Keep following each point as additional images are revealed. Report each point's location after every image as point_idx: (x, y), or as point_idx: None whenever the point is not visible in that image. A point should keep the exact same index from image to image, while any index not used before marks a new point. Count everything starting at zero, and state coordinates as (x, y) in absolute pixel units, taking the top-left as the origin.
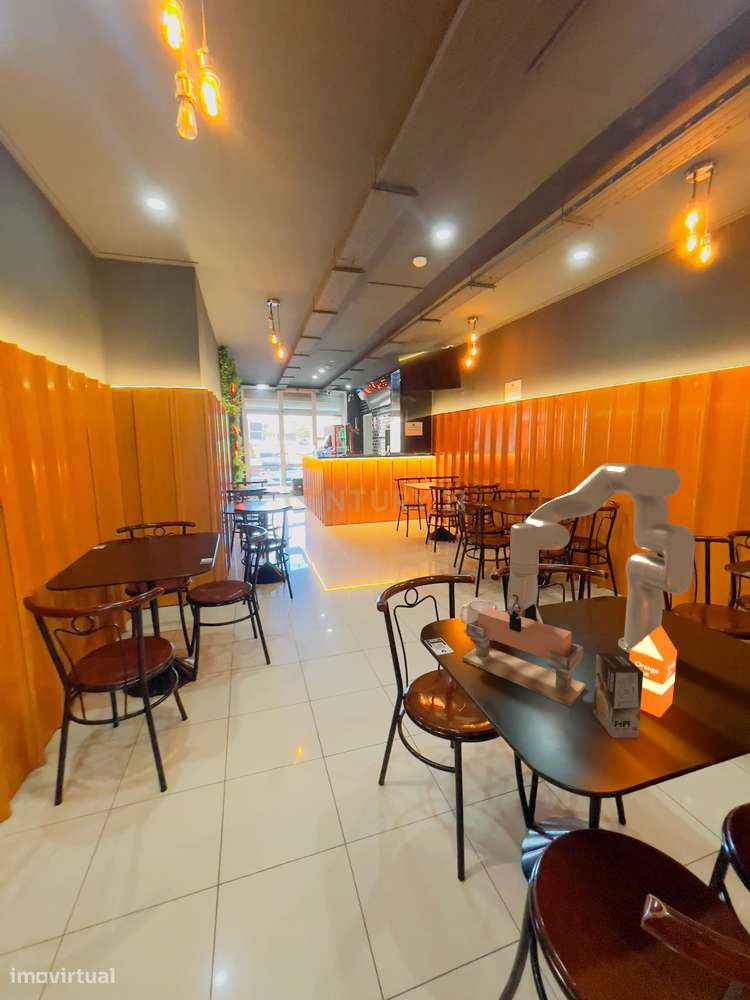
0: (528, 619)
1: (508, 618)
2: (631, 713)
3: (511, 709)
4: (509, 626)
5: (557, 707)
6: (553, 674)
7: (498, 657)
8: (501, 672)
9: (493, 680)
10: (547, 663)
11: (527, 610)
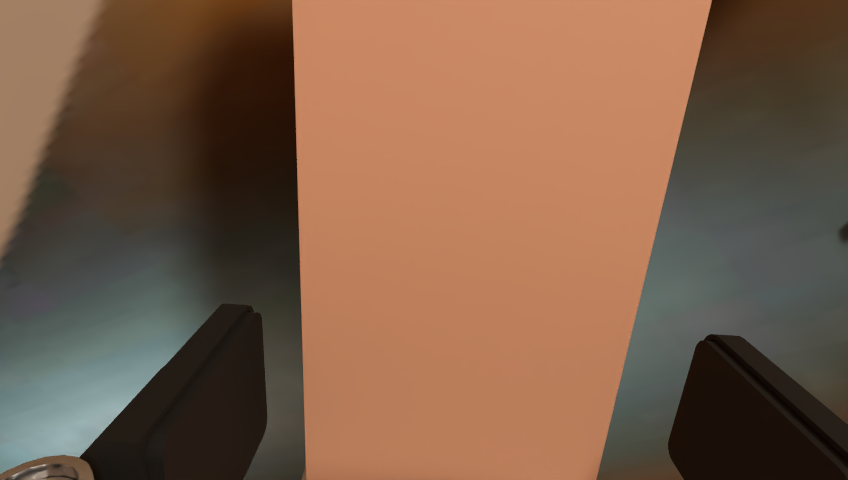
0: (583, 440)
1: (436, 213)
2: None
3: (118, 278)
4: (212, 315)
5: (286, 407)
6: None
7: None
8: None
9: (263, 107)
10: (302, 476)
11: (771, 454)
